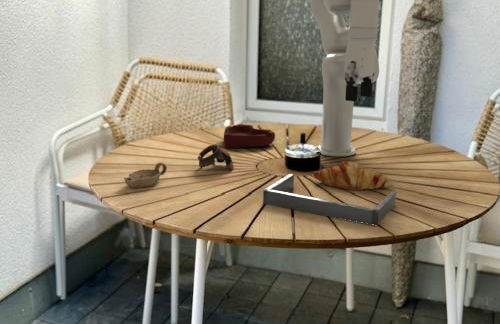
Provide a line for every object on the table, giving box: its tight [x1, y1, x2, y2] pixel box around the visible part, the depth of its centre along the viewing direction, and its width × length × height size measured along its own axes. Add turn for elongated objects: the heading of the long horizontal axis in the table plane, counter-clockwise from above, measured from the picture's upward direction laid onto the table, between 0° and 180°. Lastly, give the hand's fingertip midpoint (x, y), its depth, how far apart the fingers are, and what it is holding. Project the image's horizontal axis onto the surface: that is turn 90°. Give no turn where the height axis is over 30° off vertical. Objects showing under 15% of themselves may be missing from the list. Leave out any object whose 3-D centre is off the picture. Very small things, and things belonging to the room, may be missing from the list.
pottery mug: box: [197, 143, 235, 172], centre depth 171 cm, size 12×10×8 cm
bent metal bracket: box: [262, 173, 397, 226], centre depth 143 cm, size 15×28×4 cm, turn 61°
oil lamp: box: [123, 161, 168, 189], centre depth 156 cm, size 13×8×5 cm, turn 134°
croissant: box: [312, 160, 394, 191], centre depth 158 cm, size 21×10×8 cm, turn 78°
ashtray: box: [223, 123, 276, 149], centre depth 198 cm, size 18×16×5 cm
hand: (358, 98), depth 161 cm, fingers open, 9 cm apart
